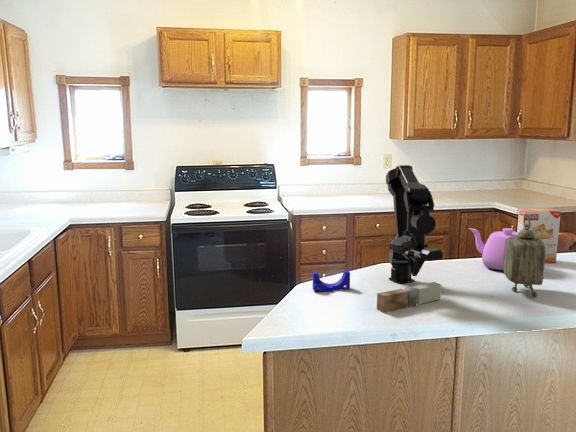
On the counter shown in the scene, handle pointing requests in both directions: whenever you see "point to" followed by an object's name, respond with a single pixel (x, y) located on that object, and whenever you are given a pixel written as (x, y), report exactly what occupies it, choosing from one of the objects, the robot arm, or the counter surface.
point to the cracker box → (543, 228)
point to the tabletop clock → (524, 259)
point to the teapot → (493, 247)
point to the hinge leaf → (424, 292)
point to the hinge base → (394, 300)
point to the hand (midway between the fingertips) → (414, 275)
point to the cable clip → (324, 287)
